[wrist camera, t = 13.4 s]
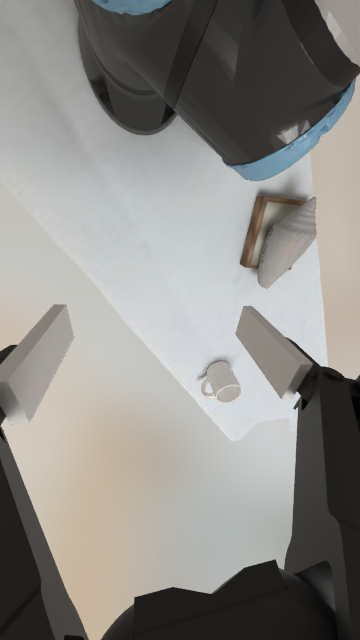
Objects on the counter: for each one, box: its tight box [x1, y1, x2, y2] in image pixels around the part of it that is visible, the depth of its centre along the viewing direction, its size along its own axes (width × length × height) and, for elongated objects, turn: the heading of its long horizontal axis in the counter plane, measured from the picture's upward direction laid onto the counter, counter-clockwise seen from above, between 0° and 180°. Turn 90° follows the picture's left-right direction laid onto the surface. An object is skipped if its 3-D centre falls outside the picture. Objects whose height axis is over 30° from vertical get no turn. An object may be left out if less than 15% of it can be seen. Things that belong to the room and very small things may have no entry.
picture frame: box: [240, 196, 306, 270], centre depth 43 cm, size 14×12×3 cm
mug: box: [201, 361, 242, 403], centre depth 61 cm, size 12×8×10 cm
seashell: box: [258, 197, 317, 289], centre depth 40 cm, size 9×11×15 cm
